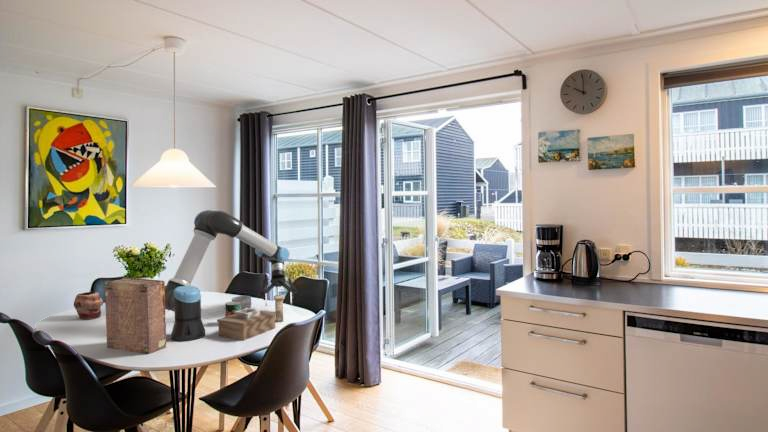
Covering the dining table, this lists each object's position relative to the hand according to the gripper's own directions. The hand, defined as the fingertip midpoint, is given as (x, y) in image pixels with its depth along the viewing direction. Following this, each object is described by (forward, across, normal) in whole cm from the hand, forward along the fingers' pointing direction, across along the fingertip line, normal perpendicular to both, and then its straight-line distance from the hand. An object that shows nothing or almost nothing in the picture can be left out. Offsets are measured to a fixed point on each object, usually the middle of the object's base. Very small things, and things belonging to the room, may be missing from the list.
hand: (278, 303), depth 258 cm
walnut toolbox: (+23, +16, +14) cm, 31 cm away
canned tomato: (+11, +24, +1) cm, 26 cm away
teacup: (-8, +21, -19) cm, 29 cm away
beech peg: (+12, 0, +2) cm, 13 cm away
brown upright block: (+32, +63, +22) cm, 73 cm away
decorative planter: (-12, +103, -22) cm, 106 cm away
